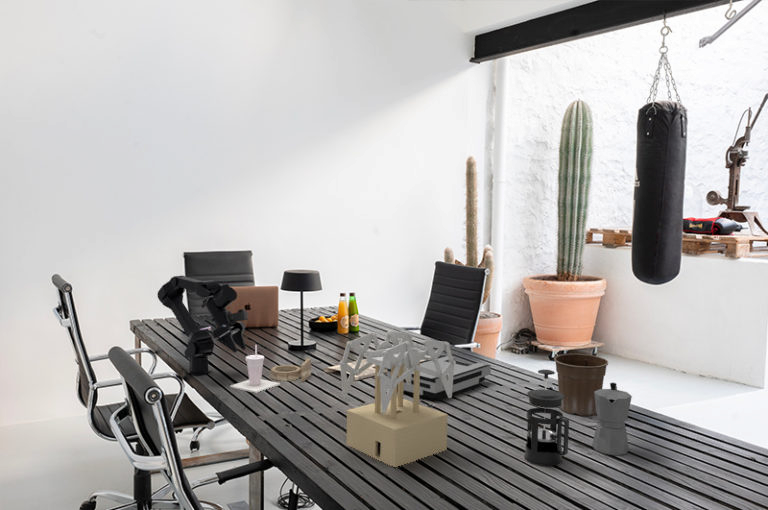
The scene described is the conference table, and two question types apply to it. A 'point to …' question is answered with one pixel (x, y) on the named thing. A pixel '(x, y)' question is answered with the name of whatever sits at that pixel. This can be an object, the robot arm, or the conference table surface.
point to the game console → (462, 378)
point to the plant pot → (579, 381)
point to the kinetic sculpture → (396, 400)
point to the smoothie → (255, 368)
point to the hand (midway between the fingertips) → (240, 350)
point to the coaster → (247, 387)
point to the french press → (541, 440)
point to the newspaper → (366, 373)
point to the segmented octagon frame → (292, 371)
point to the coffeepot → (611, 421)
